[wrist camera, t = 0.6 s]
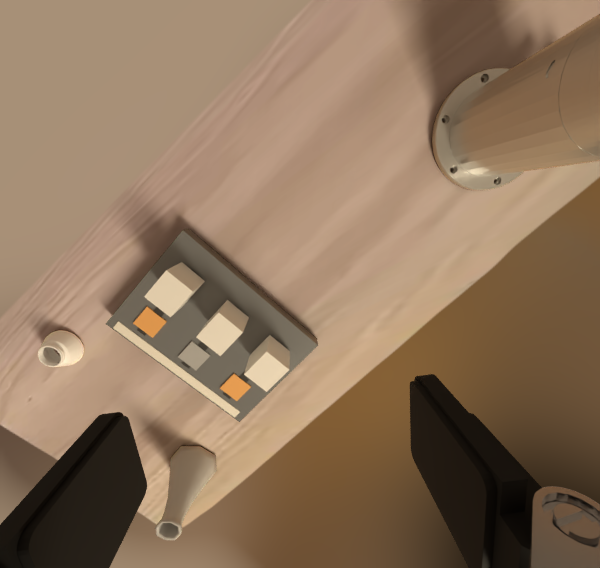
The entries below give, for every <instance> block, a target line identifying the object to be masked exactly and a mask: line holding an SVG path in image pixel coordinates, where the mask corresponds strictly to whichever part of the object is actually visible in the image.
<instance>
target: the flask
mask: <svg viewBox="0 0 600 568" xmlns="http://www.w3.org/2000/svg"><path fill="white" fill-rule="evenodd" d="M215 472H216V456H215V455H214V454H212V453H210V452H209V451H207V450H205V449H204V448H202V447H200V446H181V447H180V448H179V449H178V450H177V451H176V452H175V454H174V455H173V456H172V457H171V460H170V478H169V490H168V499H167V503H166V508H165V512H164V514H163V517H162V519H161V520H160V521H159V523H158V524H157V525H156V528H155V529H156V535H157V536H158V537H160V538H162V539H164V540H176V538H178V537H179V536H180V534H181V533H182V523H183V520H184V517H185V515H186V513H187V511H188V510H189V508H190V506H191V504H192V503H193V501H194V500H195V499H196V497H197V496H198V494H199V493H200V492H201V490H202V489H203V488H204V486H205V485H206V484H207V483H208V481H209V480H210V479H211V477H212V476H213V475H214V473H215Z"/></svg>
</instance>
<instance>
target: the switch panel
mask: <svg viewBox="0 0 600 568" xmlns="http://www.w3.org/2000/svg"><path fill="white" fill-rule="evenodd" d="M181 262H182V263H184V264H185V265H186V266H187V267H188V268H190V269H191V270H192V271H193V272H195V273H196V274H197V275H198V276H199V277H201V278H202V279H203V280H204V281H205V282H204V283H203V284H202V285H201V286H200V287H199V289H198V290H197V291H196V292H195V293H194V294H193V295H192V297H191V298H190V299H189V300H188V301H187V302H186V303H185V304H184V305H183V306H182V307H181V308H180V309H179V310H178V311H177V312H176V313H175V314H174V315H173V316H172V317H169V316H168V315H167V314H165V313H164V312H163V311H162V310H160V309H159V308H158V307H156V306H155V305H154V304H153V303H151V302H150V301H149V300H147V299H146V298H145V297H144V296H145V295H146V294H147V293H148V291H149V290H150V289H151V288H152V287H153V285H154V284H155V283H156V282H157V281H158V279H159V278H160V277H161V276H162V275H163V274H164V272H165V271H166V270H167V269H169V268H171V267H173V266H175V265H177V264H179V263H181ZM227 300H228V301H230V302H231V303H232V304H233V305H234V306H236V307H237V308H238V309H239V310H240V311H242V312H243V313H244V314H245V315H247V316H248V317H249V319H248V321H247V324H246V326H245V329H244V331H243V333H242V334H241V335H240V336H239V337H238V338H237V339H236V340H235V341H234V342H233V344H232V345H231V346H230V347H229V348H228V349H227V350H226V351H225V352H224V353H223V354H222V355H221V356H219V355H218V354H217V353H216V352H214V351H213V350H212V349H210V348H209V347H208V346H207V345H205V344H204V343H203V342H201V341H200V340H199V339H198V338H196V336H197V335H198V334H199V332H200V331H201V330H202V328H203V327H204V326H205V324H206V323H207V322H208V320H209V319H210V318H211V317H212V316H213V315H214V314H215V313H216V312H217V311H218V309H219V308H220V307H221V306H222V305H223V304H224V303H225V302H226V301H227ZM106 324H107V325H108V326H109V327H111V328H112V329H113V330H115V331H116V332H118V333H119V334H120V335H122V336H123V337H124V338H126V339H127V340H128V341H130V342H131V343H133V344H134V345H135V346H137V347H138V348H139V349H141V350H142V351H143V352H145V353H146V354H148V355H149V356H150V357H152V358H153V359H154V360H156V361H157V362H158V363H160V364H161V365H162V366H164V367H165V368H167V369H168V370H169V371H171V372H172V373H173V374H175V375H176V376H177V377H179V378H180V379H182V380H183V381H184V382H186V383H187V384H188V385H190V386H191V387H192V388H194V389H195V390H197V391H198V392H199V393H201V394H202V395H203V396H205V397H206V398H207V399H209V400H210V401H212V402H213V403H214V404H216V405H217V406H218V407H220V408H221V409H222V410H224V411H225V412H227V413H228V414H229V415H231V416H232V417H233V418H235V419H236V420H237V421H239V422H240V421H241V420H242V419H243V418H244V417H245V416H246V415H247V414H248V413H249V412H250V411H251V410H252V409H253V408H254V407H255V406H256V405H257V404H258V403H259V402H260V401H261V400H262V399H264V398H265V397H266V396H267V395H268V394H269V393H270V392H271V391H272V390H273V389H274V388H275V387H276V386H277V385H278V384H279V383H280V382H281V381H282V380H283V379H284V378H285V377H286V376H287V375H288V374H289V373H290V372H291V371H292V370H293V369H294V368H295V367H296V366H297V365H298V364H299V363H300V362H301V361H303V360H304V359H305V358H306V357H307V356H308V355H309V354H310V353H311V352H312V351H313V350H314V349H315V348H316V347H317V346H318V343H317V338H315V337H314V336H313V335H312V334H311V333H310V332H308V331H307V330H306V329H305V328H304V327H303V326H301V325H300V324H299V323H298V322H297V321H296V320H294V319H293V318H292V317H291V316H290V315H289V314H287V313H286V312H285V311H284V310H283V309H282V308H280V307H279V306H278V305H277V304H276V303H275V302H273V301H272V300H271V299H270V298H269V297H268V296H266V295H265V294H264V293H263V292H262V291H261V290H259V289H258V288H257V287H256V286H255V285H254V284H252V283H251V282H250V281H249V280H248V279H247V278H245V277H244V276H243V275H242V274H241V273H240V272H238V271H237V270H236V269H235V268H234V267H233V266H231V265H230V264H229V263H228V262H227V261H226V260H224V259H223V258H222V257H221V256H220V255H219V254H217V253H216V252H215V251H214V250H213V249H212V248H210V247H209V246H208V245H207V244H206V243H205V242H203V241H202V240H201V239H200V238H199V237H198V236H196V235H195V234H194V233H193V232H192V231H191V230H189V229H186V230H183V231H182V232H181V233H180V234H179V235H178V237H177V238H176V239H175V240H174V242H173V243H172V244H171V245H170V246H169V248H168V249H167V250H166V251H165V252H164V254H163V255H162V256H161V257H160V259H159V260H158V261H157V262H156V263H155V265H154V266H153V267H152V268H151V269H150V271H149V272H148V273H147V274H146V276H145V277H144V278H143V279H142V280H141V282H140V283H139V284H138V285H137V286H136V288H135V289H134V290H133V291H132V293H131V294H130V295H129V296H128V297H127V299H126V300H125V301H124V302H123V303H122V305H121V306H120V307H119V308H118V310H117V311H116V312H115V313H114V314H113V316H112V317H111V318H110V319H109V320H108V322H107V323H106ZM269 335H271V336H272V337H273V338H274V339H276V340H277V341H278V342H279V343H280V344H282V345H283V346H284V347H285V348H286V349H288V350H289V351H290V365H289V371H288V372H287V373H286V374H285V375H284V376H283V377H282V378H281V379H280V380H278V381H277V382H276V383H275V384H274V385H273V386H272V387H271V388H270V389H269V390H268V391H267V392H266V391H265V390H263V389H262V388H261V387H259V386H258V385H257V384H256V383H254V382H253V381H252V380H250V379H249V378H248V377H247V376H245V375H244V373H245V369H246V366H247V362H248V359H249V356H250V355H251V353H252V352H253V351H254V350H255V349H256V348H257V347H258V346H259V345H260V344H261V343H262V342H263V341H264V340H265V339H266V338H267V337H268V336H269Z"/></svg>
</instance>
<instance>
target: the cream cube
mask: <svg viewBox="0 0 600 568" xmlns="http://www.w3.org/2000/svg"><path fill="white" fill-rule="evenodd" d="M289 365H290V351H289V350H288V349H286V348H285V347H284V346H283V345H282V344H280V343H279V342H278V341H277V340H276V339H274V338H273V337H272V336H271V335H269V336H268V337H267V338H266V339H265V340H264V341H263V342H262V343H261V344H260V345H259V346H258V347H257V348H256V349H255V350H254V351H253V352H252V353H251V355H250V356H249V359H248V362H247V366H246V369H245V373H244V375H245V376H247V377H248V378H249V379H250V380H252V381H253V382H254V383H256V384H257V385H258V386H259V387H261V388H262V389H263V390H265V391H266V392H267V391H268V390H269V389H270V388H271V387H272V386H273V385H274V384H275V383H276V382H277V381H278V380H280V379H281V378H282V377H283V376H284V375H285V374H286V373H287V372H288V371H289Z"/></svg>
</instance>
